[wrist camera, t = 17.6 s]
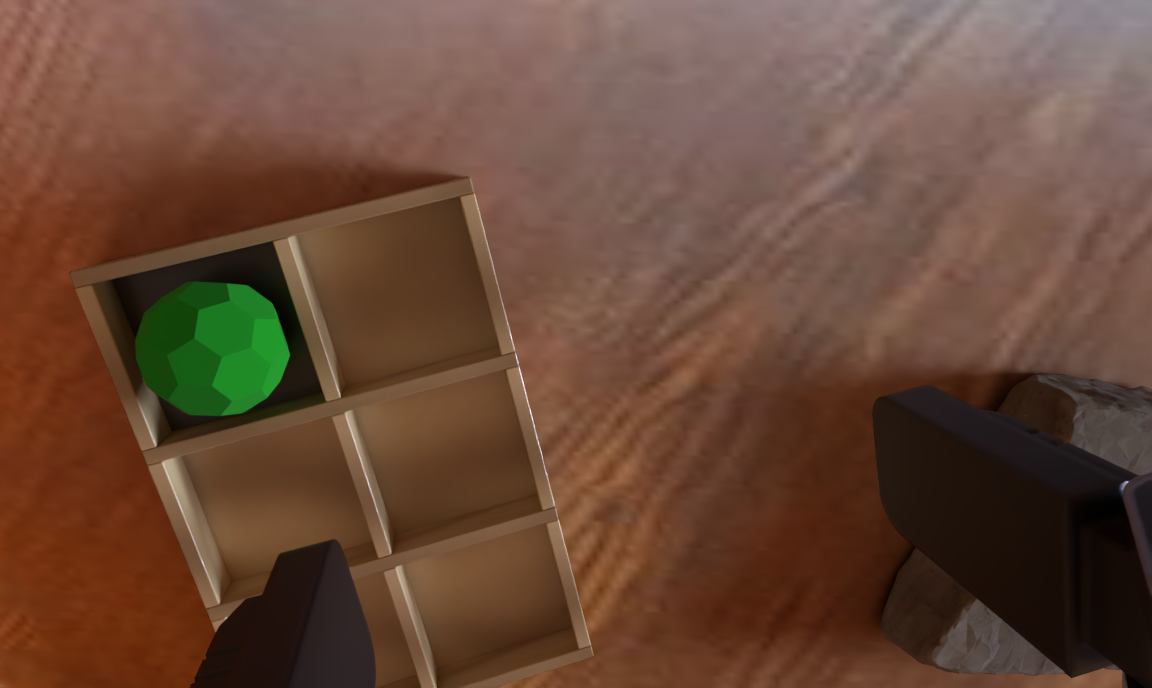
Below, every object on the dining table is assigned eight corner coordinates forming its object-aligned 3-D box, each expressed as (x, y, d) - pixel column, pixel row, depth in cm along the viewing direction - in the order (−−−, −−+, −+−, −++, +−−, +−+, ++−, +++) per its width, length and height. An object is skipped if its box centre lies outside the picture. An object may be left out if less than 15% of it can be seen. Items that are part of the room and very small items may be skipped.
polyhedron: (217, 417, 30) (178, 461, 26) (135, 316, 29) (78, 344, 24) (324, 351, 31) (304, 383, 26) (247, 247, 29) (212, 261, 25)
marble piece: (869, 629, 39) (918, 682, 35) (945, 355, 37) (1007, 378, 32) (1133, 645, 43) (1205, 695, 39) (1220, 396, 40) (1308, 421, 36)
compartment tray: (96, 264, 29) (67, 272, 27) (468, 176, 31) (470, 176, 28) (278, 721, 35) (266, 760, 32) (584, 626, 36) (594, 656, 34)
